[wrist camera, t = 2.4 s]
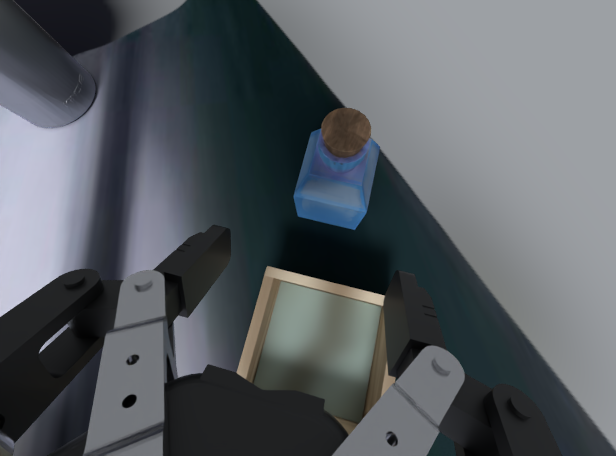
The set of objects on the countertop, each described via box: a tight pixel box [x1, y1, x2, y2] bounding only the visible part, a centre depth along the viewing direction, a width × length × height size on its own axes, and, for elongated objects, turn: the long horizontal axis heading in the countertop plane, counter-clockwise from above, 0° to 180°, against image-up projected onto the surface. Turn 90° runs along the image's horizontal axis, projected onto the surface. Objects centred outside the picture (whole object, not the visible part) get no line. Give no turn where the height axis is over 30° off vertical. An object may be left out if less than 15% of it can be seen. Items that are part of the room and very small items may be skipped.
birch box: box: [237, 266, 395, 435], centre depth 22 cm, size 12×12×5 cm
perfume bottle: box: [294, 108, 380, 230], centre depth 22 cm, size 6×6×12 cm
